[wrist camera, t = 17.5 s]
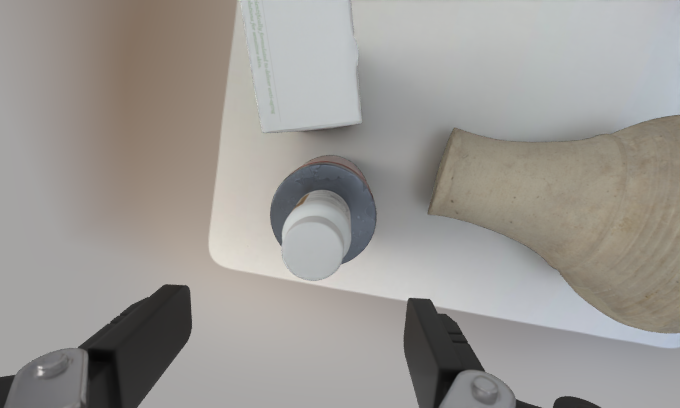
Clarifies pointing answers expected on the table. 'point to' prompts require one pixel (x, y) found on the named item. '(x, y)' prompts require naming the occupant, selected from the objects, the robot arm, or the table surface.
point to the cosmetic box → (303, 63)
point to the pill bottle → (316, 235)
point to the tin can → (335, 178)
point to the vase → (582, 211)
